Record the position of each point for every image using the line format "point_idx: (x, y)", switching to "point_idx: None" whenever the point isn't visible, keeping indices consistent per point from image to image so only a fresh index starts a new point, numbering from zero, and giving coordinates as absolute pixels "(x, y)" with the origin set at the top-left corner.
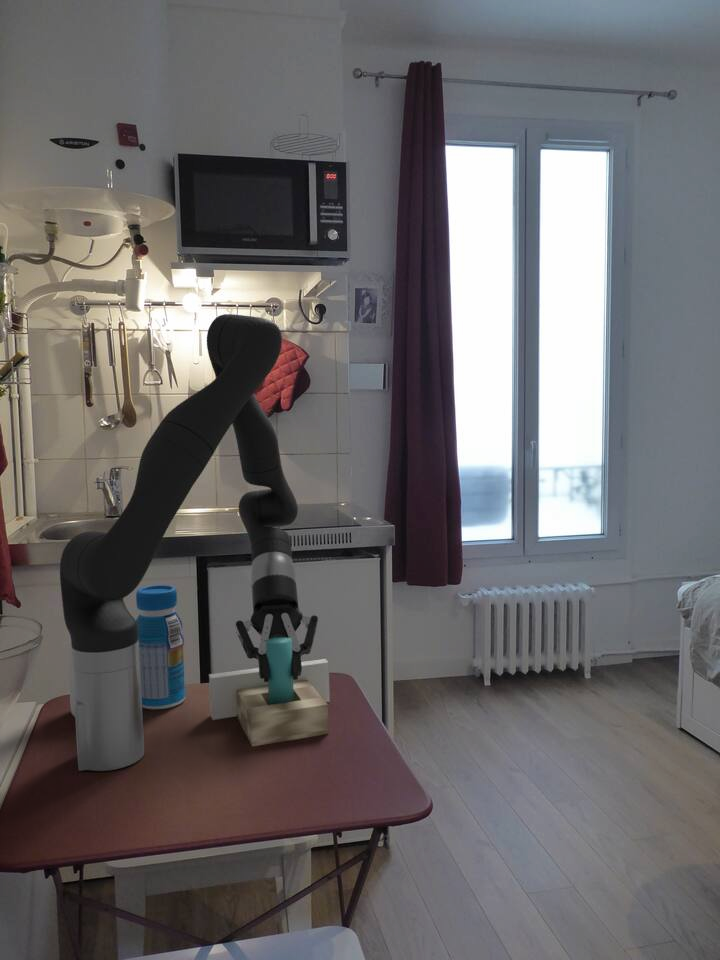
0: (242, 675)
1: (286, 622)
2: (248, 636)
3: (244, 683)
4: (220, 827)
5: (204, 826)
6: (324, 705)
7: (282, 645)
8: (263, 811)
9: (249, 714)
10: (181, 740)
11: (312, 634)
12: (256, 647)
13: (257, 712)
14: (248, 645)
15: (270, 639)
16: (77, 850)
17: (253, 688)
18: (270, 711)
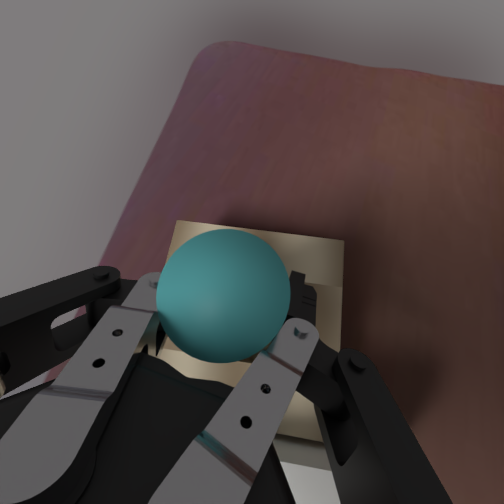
0: (322, 467)
1: (84, 392)
2: (376, 439)
3: (311, 453)
4: (414, 85)
5: (432, 93)
6: (184, 221)
7: (232, 232)
8: (361, 94)
9: (343, 256)
10: (453, 356)
11: (32, 291)
12: (321, 370)
13: (325, 252)
14: (368, 382)
15: (253, 338)
16: None
17: (287, 423)
18: (297, 243)
